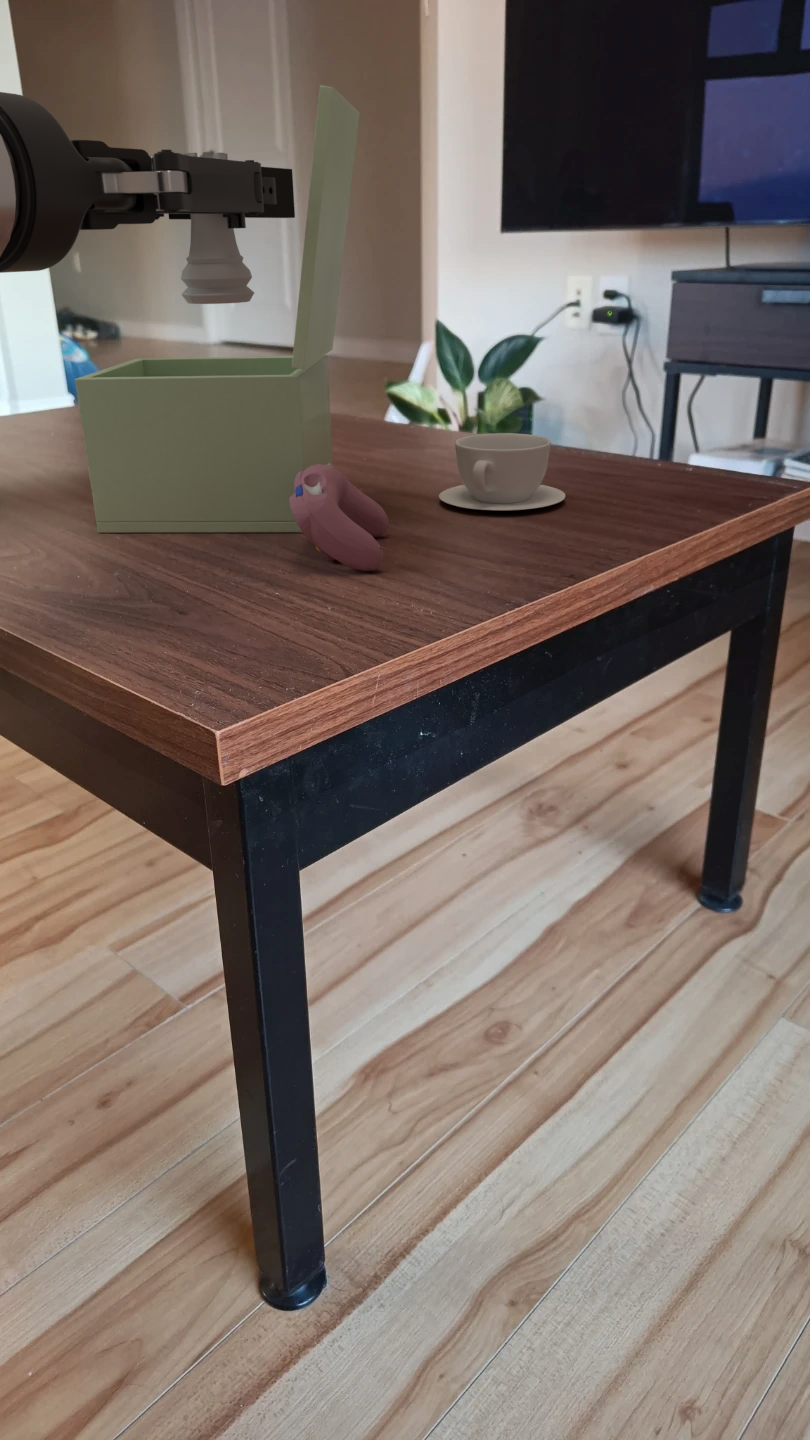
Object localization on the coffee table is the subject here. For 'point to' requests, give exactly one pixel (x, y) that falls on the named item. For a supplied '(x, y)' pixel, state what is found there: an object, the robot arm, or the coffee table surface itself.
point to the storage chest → (202, 442)
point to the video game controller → (338, 517)
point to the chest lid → (325, 226)
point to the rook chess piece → (214, 260)
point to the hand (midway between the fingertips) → (261, 195)
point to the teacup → (502, 473)
